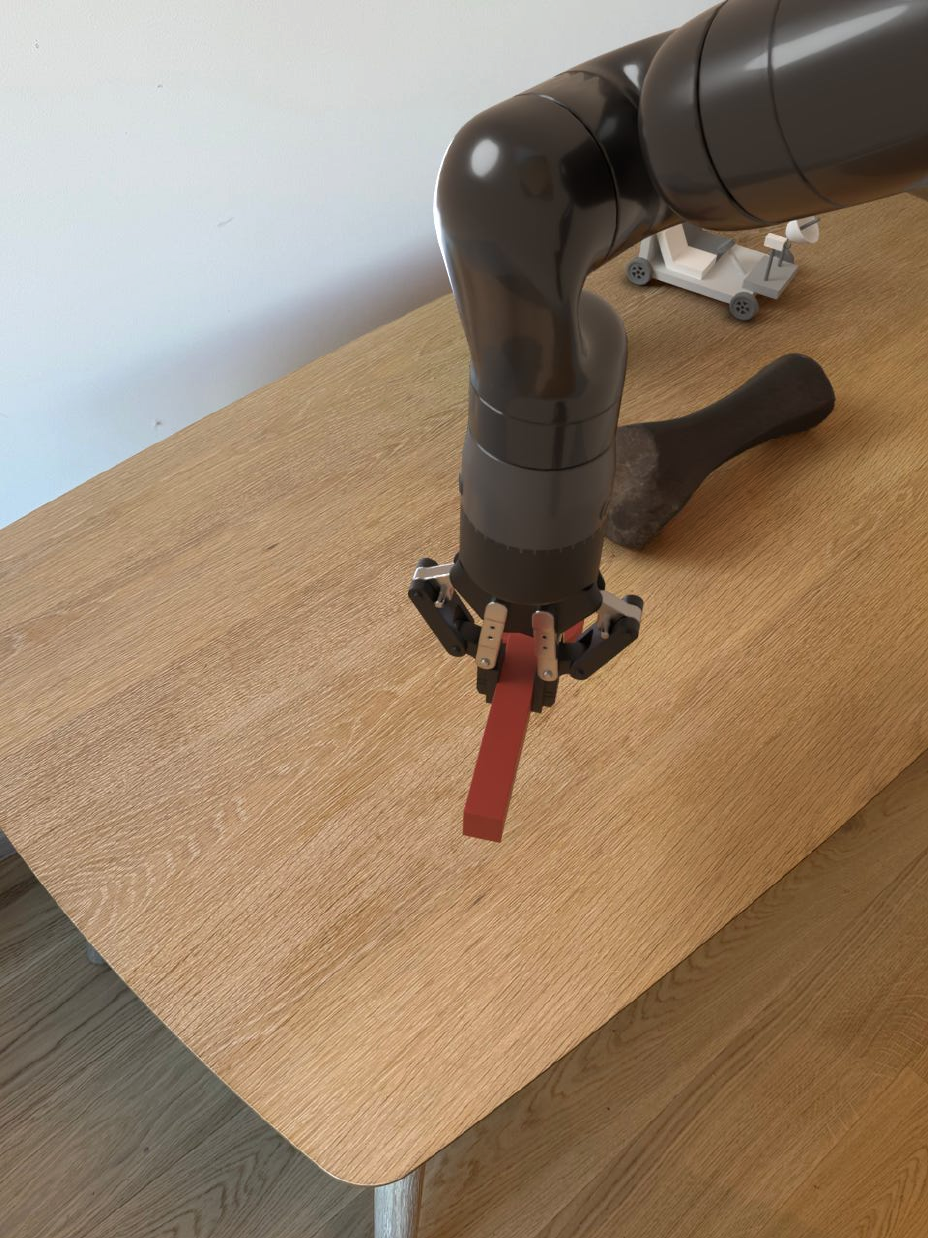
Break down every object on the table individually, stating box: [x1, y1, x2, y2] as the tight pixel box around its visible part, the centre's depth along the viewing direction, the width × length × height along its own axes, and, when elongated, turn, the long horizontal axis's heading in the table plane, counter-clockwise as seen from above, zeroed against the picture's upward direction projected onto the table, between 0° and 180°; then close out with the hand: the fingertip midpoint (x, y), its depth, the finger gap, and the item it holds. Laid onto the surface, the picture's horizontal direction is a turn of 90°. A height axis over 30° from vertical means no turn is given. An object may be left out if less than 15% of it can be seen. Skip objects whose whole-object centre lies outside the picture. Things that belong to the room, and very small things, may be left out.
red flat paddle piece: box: [462, 619, 585, 844], centre depth 67 cm, size 19×6×3 cm, turn 167°
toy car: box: [625, 216, 821, 321], centre depth 120 cm, size 18×10×12 cm
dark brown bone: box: [604, 352, 837, 551], centre depth 100 cm, size 11×10×28 cm
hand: (515, 696), depth 68 cm, fingers closed on red flat paddle piece, 2 cm apart
